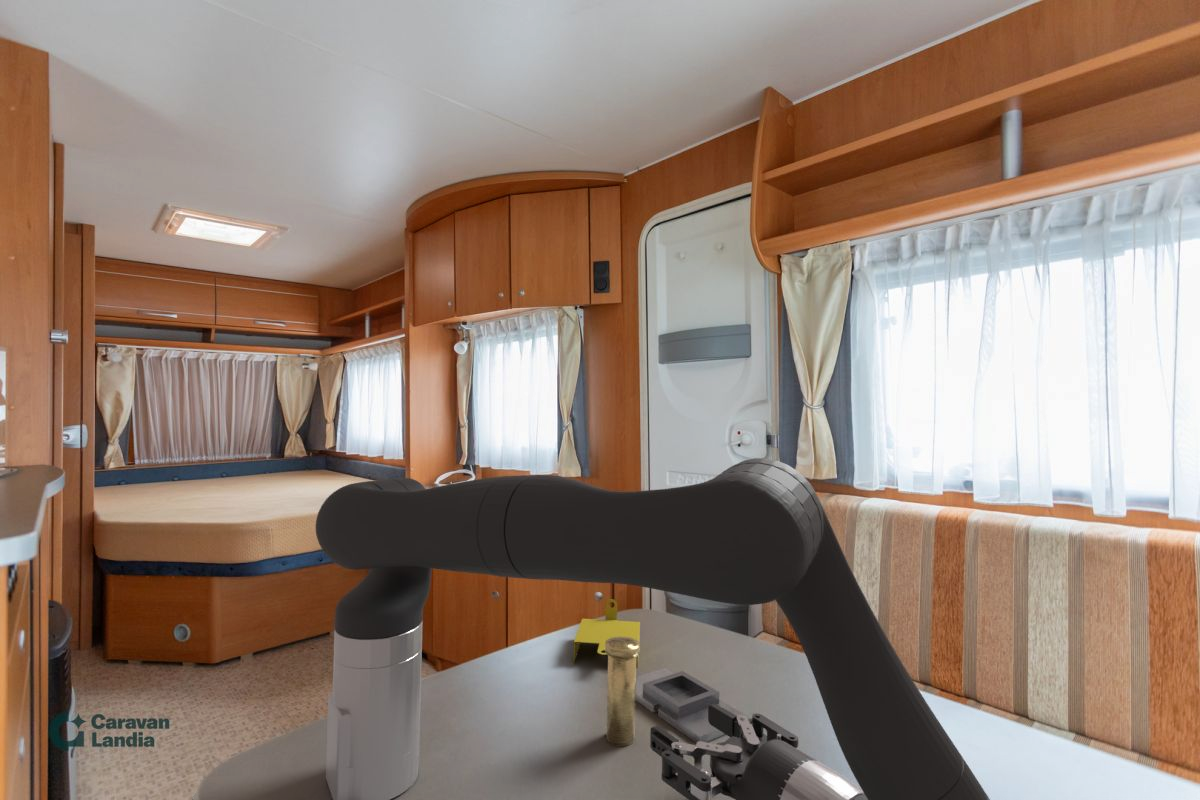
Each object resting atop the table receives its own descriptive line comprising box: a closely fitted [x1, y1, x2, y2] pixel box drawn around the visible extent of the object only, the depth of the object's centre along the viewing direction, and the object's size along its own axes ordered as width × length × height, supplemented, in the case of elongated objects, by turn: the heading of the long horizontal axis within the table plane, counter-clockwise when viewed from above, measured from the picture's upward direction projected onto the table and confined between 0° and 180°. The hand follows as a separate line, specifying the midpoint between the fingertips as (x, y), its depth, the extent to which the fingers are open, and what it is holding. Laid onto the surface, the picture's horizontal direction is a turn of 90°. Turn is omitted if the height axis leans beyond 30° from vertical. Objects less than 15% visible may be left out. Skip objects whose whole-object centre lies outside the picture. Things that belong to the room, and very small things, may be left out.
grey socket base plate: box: [635, 667, 750, 744], centre depth 82 cm, size 9×17×2 cm, turn 34°
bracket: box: [572, 598, 641, 669], centre depth 98 cm, size 16×8×15 cm
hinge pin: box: [604, 637, 641, 747], centre depth 74 cm, size 4×4×12 cm
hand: (682, 723), depth 65 cm, fingers open, 8 cm apart
